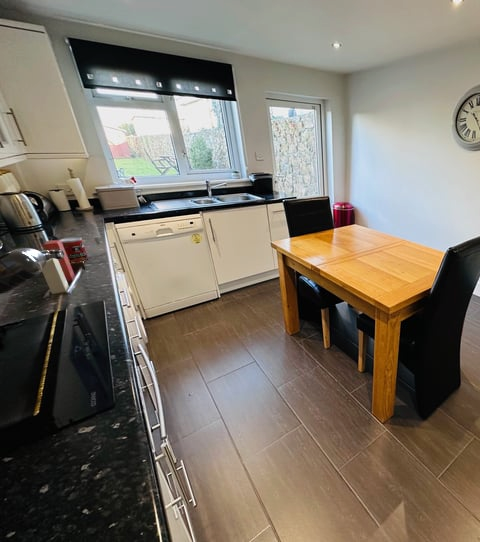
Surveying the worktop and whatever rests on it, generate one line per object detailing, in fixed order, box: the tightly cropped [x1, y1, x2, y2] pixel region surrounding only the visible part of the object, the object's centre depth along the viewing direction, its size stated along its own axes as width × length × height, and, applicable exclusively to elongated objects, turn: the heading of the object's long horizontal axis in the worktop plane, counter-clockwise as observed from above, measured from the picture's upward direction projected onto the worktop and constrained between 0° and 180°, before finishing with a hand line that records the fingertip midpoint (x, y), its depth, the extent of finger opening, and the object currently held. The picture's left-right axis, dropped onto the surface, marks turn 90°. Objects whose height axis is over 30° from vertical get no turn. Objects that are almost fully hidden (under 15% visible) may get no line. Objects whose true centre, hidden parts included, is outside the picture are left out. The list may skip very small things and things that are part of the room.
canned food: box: [60, 236, 89, 262], centre depth 136 cm, size 8×8×11 cm
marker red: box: [43, 239, 75, 281], centre depth 112 cm, size 4×5×16 cm
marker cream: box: [41, 253, 70, 295], centre depth 104 cm, size 4×5×14 cm
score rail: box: [42, 261, 87, 299], centre depth 113 cm, size 8×30×4 cm, turn 35°
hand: (34, 255), depth 89 cm, fingers open, 8 cm apart
